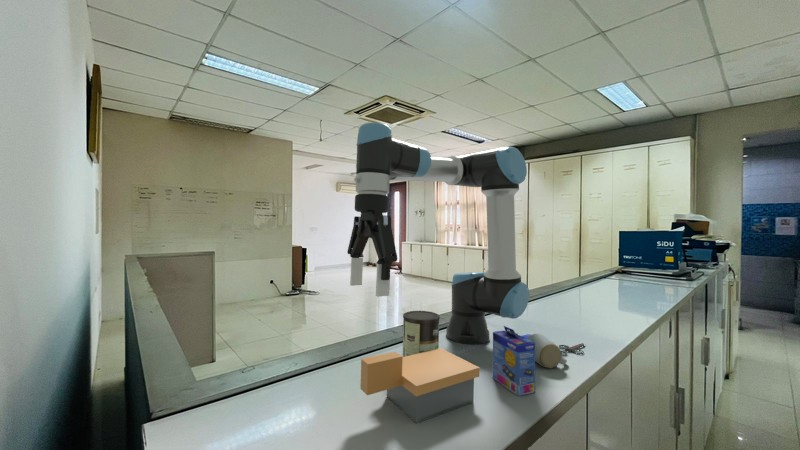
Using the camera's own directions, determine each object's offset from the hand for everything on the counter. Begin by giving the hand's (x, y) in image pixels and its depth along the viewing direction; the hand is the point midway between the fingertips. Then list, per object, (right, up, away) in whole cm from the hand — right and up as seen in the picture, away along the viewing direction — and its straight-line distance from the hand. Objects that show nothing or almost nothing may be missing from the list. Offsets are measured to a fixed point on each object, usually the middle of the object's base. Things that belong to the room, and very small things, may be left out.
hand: (368, 290), depth 72 cm
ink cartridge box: (+35, -26, +9) cm, 44 cm away
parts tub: (+14, -25, +1) cm, 28 cm away
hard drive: (+51, -27, +40) cm, 70 cm away
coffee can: (+13, -25, +19) cm, 34 cm away
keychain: (+64, -27, +34) cm, 77 cm away
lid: (+11, -19, -1) cm, 22 cm away
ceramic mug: (+50, -26, +23) cm, 61 cm away
